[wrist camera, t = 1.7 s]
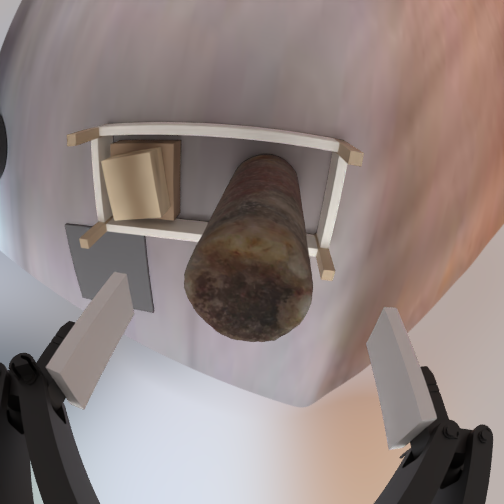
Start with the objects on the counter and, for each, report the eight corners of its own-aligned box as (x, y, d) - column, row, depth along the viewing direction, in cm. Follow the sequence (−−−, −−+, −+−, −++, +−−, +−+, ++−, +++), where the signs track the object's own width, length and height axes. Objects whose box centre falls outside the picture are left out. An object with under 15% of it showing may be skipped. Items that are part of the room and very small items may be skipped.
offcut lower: (125, 206, 35) (115, 215, 33) (122, 139, 31) (110, 143, 28) (181, 210, 35) (173, 220, 33) (182, 139, 31) (173, 143, 28)
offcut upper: (126, 210, 32) (114, 220, 30) (114, 154, 29) (101, 161, 26) (170, 207, 32) (161, 217, 29) (160, 147, 28) (149, 152, 26)
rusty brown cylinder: (246, 222, 35) (217, 353, 17) (220, 168, 32) (153, 261, 14) (306, 201, 33) (337, 325, 15) (284, 143, 30) (297, 210, 12)
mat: (83, 296, 44) (82, 297, 43) (66, 223, 37) (64, 224, 36) (154, 311, 43) (153, 312, 43) (144, 232, 36) (143, 233, 36)
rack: (112, 219, 36) (80, 247, 29) (106, 124, 29) (66, 134, 22) (322, 243, 35) (332, 280, 28) (343, 140, 29) (363, 153, 22)
